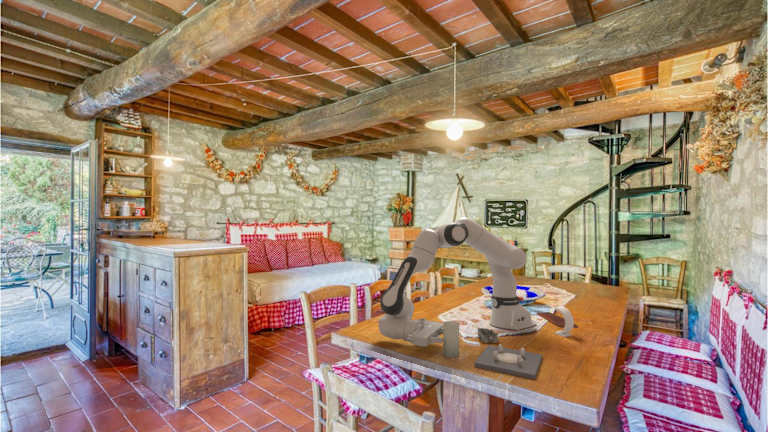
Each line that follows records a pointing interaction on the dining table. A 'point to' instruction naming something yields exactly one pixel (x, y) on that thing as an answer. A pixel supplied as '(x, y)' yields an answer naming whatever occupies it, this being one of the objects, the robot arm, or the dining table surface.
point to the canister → (451, 339)
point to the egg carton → (487, 335)
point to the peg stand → (510, 361)
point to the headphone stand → (568, 321)
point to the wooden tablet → (554, 319)
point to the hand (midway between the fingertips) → (447, 336)
